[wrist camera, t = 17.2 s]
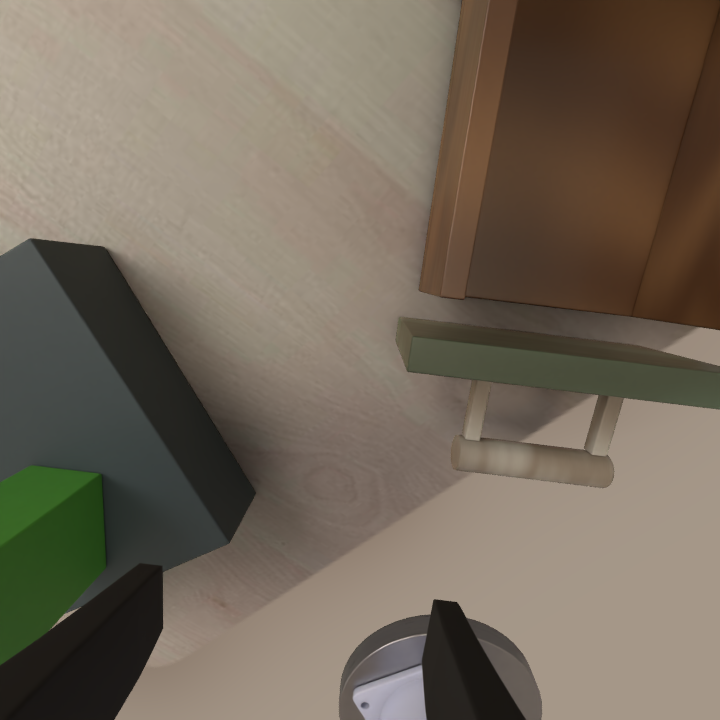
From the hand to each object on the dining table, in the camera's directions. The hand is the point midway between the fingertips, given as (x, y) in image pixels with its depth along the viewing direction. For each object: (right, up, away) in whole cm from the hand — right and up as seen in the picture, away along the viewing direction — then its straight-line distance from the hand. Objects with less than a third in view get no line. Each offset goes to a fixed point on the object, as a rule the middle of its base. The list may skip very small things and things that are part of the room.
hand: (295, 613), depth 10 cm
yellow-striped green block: (-12, -1, +7) cm, 14 cm away
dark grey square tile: (-13, +3, +10) cm, 17 cm away
